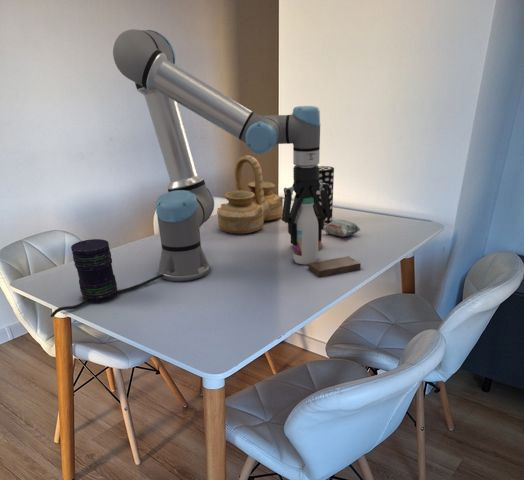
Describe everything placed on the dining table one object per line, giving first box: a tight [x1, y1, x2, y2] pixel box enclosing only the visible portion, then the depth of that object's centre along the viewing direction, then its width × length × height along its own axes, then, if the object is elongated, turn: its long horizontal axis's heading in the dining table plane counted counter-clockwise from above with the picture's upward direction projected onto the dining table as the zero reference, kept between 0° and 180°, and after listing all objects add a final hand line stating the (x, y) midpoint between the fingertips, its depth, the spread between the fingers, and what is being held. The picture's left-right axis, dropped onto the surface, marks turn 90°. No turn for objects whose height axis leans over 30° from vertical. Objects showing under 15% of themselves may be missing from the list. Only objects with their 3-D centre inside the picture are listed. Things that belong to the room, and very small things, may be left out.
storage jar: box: [70, 238, 119, 305], centre depth 140 cm, size 10×10×15 cm
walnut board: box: [308, 255, 362, 278], centre depth 155 cm, size 14×7×2 cm, turn 112°
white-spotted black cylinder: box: [313, 165, 335, 226], centre depth 194 cm, size 8×8×20 cm
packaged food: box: [322, 219, 361, 238], centre depth 183 cm, size 9×12×5 cm
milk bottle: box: [293, 197, 319, 265], centre depth 157 cm, size 8×8×20 cm
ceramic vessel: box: [216, 155, 284, 234], centre depth 194 cm, size 34×18×25 cm, turn 154°
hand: (305, 241), depth 159 cm, fingers closed on milk bottle, 8 cm apart
